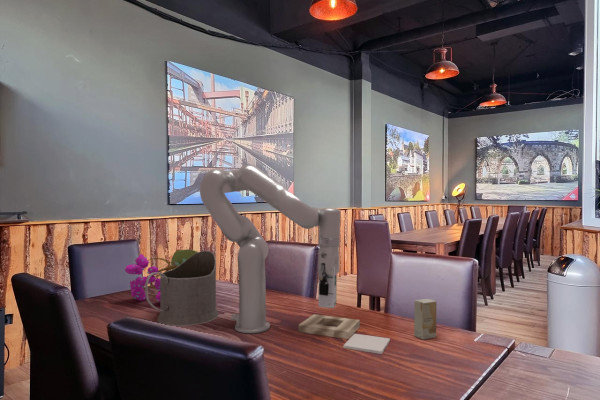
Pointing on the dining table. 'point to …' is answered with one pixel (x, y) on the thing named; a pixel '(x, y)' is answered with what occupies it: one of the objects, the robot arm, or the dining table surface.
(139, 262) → the purple flowering plant
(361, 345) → the plate
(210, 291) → the pitcher
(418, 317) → the skincare box
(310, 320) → the frame
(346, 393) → the dining table surface
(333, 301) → the syrup box
